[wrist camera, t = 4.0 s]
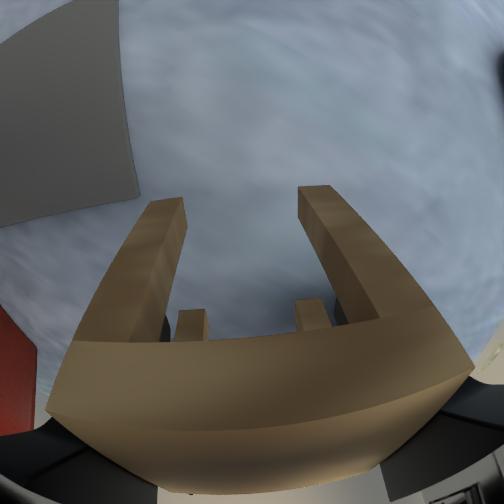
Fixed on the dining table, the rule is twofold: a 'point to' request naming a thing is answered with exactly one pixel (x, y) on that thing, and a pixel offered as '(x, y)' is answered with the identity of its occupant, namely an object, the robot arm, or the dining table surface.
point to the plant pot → (16, 378)
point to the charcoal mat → (64, 115)
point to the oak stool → (257, 367)
